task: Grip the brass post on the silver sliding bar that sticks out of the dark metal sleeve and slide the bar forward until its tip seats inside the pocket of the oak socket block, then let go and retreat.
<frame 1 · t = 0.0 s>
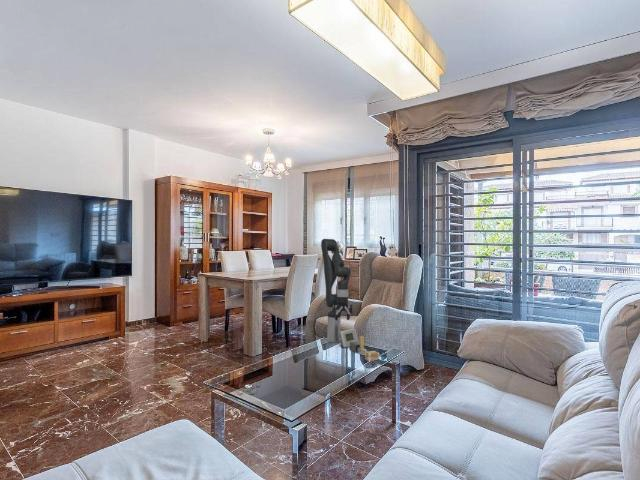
hand: (342, 320, 244), 17 cm above the table, tool pointing down, fingers open, 8 cm apart
digital clock: (349, 346, 243), on the table
tube: (358, 343, 229), point 6 cm above the table, slide at 0.0 cm
sleeve: (356, 350, 231), on the table
socket: (372, 359, 212), on the table
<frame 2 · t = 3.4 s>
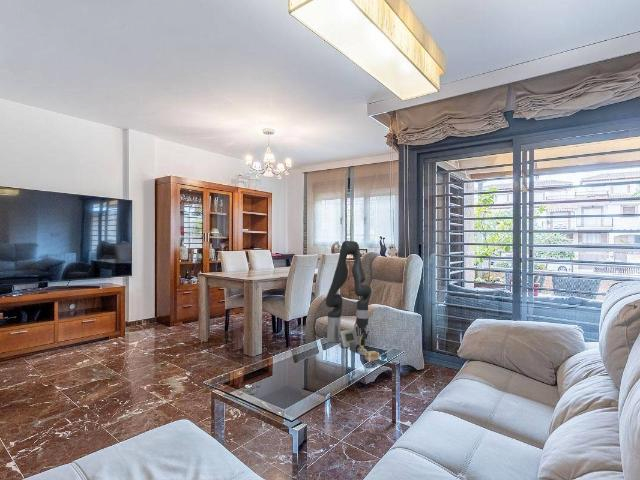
hand: (361, 344, 225), 6 cm above the table, tool pointing down, fingers closed on tube, 2 cm apart
tube: (358, 343, 229), point 6 cm above the table, slide at 0.0 cm, touching gripper
everything else where it was.
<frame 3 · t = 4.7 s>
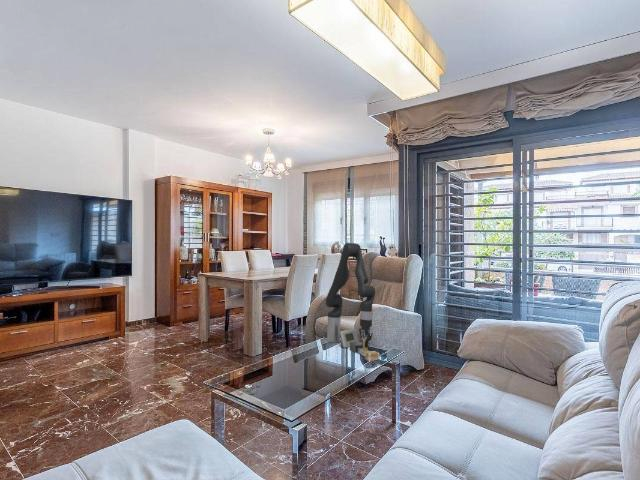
hand: (365, 346, 220), 6 cm above the table, tool pointing down, fingers closed on tube, 2 cm apart
tube: (361, 344, 224), point 6 cm above the table, slide at 4.9 cm, touching gripper
everything else where it was.
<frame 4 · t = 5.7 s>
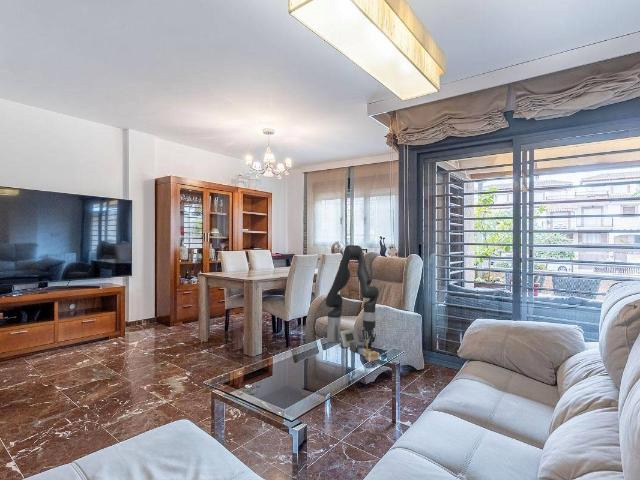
hand: (368, 348, 217), 6 cm above the table, tool pointing down, fingers closed on tube, 2 cm apart
tube: (364, 346, 221), point 6 cm above the table, slide at 8.9 cm, touching gripper
everything else where it was.
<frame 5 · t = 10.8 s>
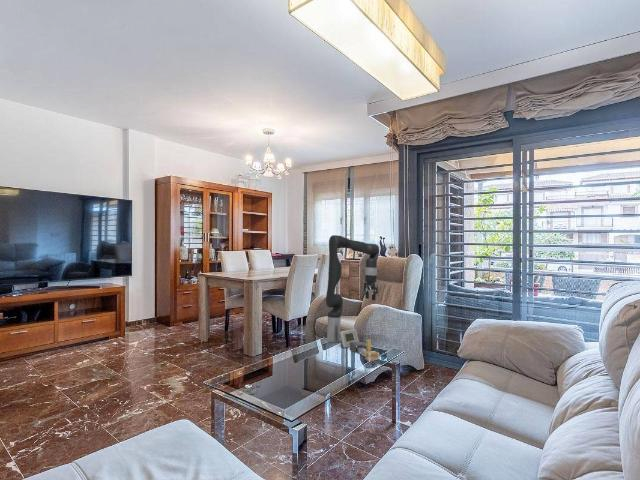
hand: (370, 299, 233), 33 cm above the table, tool pointing down, fingers open, 8 cm apart
tube: (364, 346, 221), point 6 cm above the table, slide at 8.9 cm
everything else where it was.
at the end: tube slide at 8.9 cm; the gripper is holding nothing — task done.
